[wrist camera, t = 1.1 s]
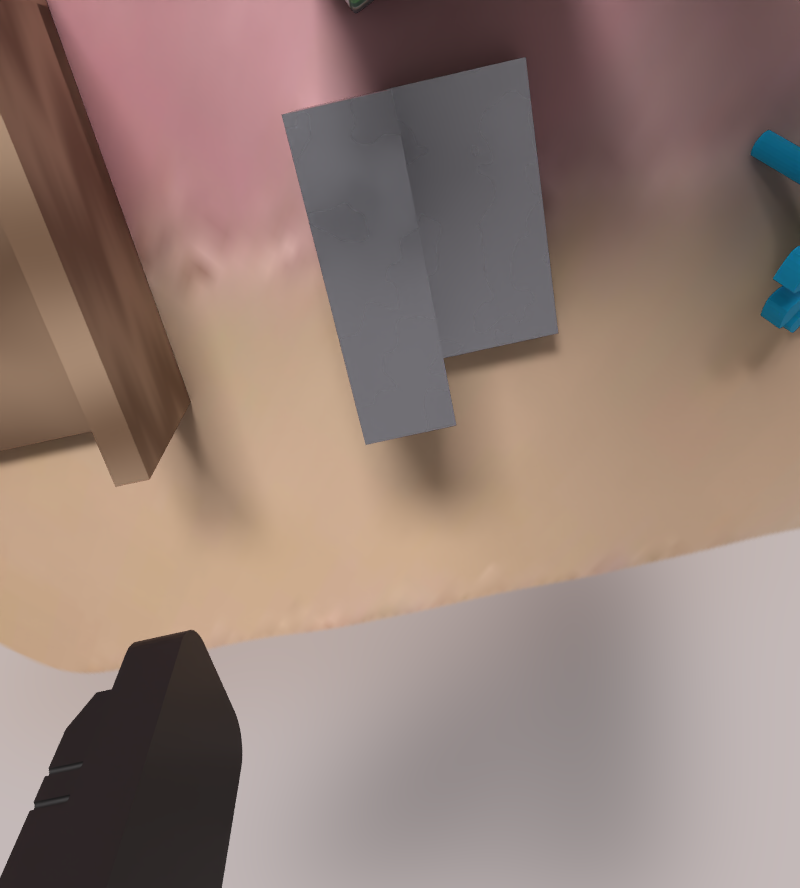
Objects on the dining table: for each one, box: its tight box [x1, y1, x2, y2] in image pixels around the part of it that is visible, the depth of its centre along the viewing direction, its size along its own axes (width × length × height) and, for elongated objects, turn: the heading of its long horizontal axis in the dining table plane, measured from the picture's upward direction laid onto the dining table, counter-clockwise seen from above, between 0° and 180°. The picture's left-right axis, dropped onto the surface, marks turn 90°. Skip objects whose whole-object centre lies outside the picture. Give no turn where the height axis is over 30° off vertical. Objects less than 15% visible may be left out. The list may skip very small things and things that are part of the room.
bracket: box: [282, 57, 558, 445], centre depth 25 cm, size 10×8×8 cm
